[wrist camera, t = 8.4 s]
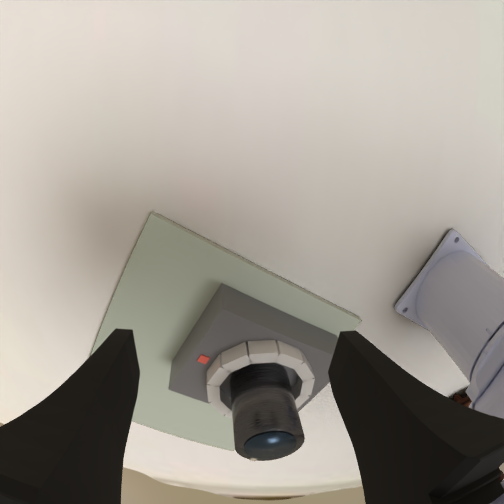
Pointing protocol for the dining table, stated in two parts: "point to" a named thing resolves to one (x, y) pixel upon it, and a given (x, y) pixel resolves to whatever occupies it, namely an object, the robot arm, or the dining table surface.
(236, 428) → the lens
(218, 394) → the camera body
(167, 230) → the mat
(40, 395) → the dining table surface
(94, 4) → the dining table surface
